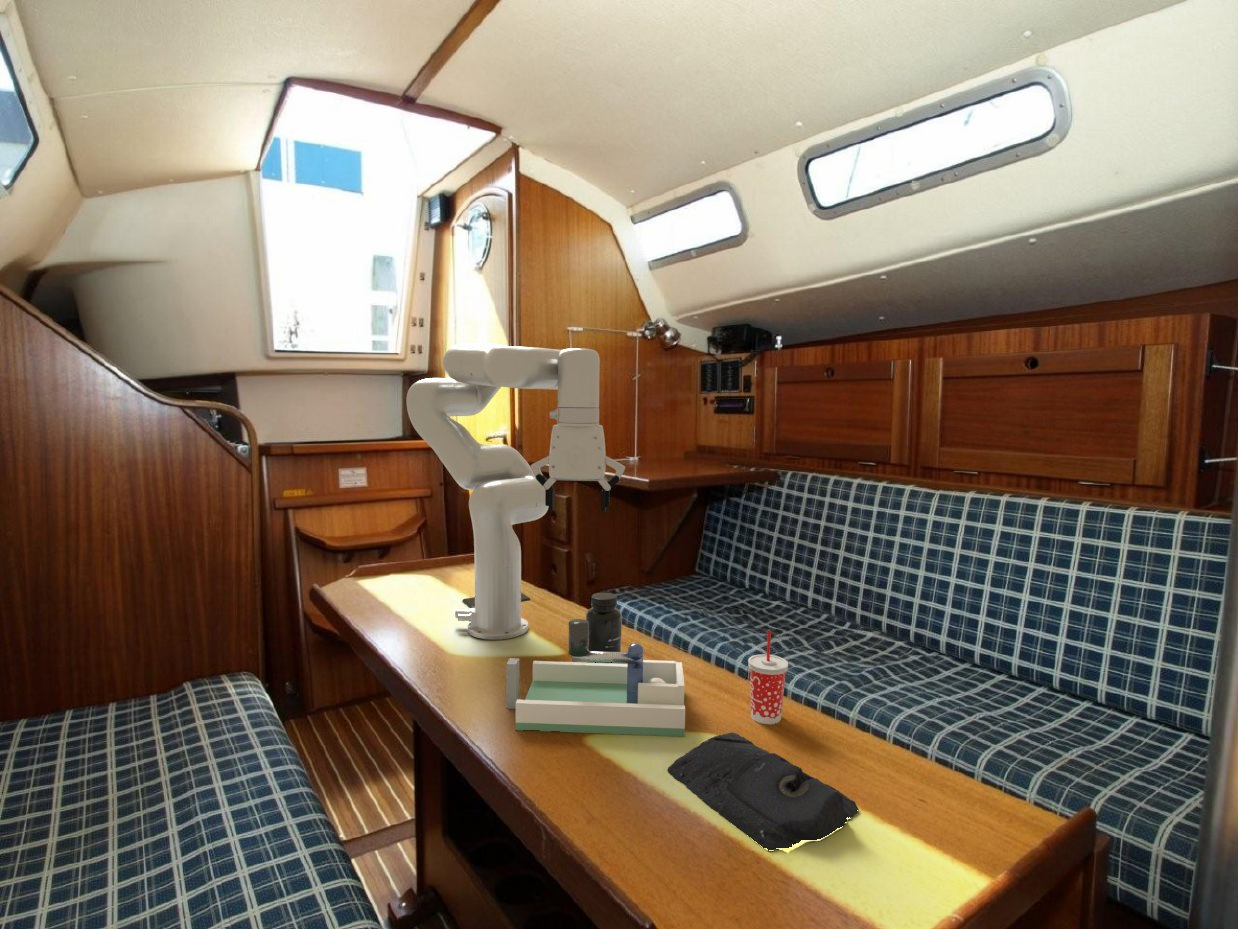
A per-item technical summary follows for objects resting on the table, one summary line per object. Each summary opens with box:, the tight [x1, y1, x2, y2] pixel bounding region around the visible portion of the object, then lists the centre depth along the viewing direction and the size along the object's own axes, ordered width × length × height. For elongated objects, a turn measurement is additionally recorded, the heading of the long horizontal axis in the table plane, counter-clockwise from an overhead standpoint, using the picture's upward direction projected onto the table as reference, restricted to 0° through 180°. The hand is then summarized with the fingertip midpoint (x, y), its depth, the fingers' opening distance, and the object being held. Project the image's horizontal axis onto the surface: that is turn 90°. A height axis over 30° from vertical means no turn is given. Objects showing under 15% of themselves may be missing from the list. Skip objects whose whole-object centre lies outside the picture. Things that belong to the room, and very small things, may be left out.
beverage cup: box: [747, 629, 789, 725], centre depth 106 cm, size 6×6×14 cm
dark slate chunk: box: [667, 732, 860, 851], centre depth 87 cm, size 15×22×5 cm
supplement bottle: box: [585, 592, 623, 663], centre depth 129 cm, size 7×7×12 cm
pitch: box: [505, 657, 686, 737], centre depth 108 cm, size 28×16×7 cm, turn 87°
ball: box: [646, 678, 667, 684], centre depth 108 cm, size 4×4×4 cm
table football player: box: [568, 618, 645, 704], centre depth 108 cm, size 12×6×12 cm, turn 87°
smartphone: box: [462, 592, 531, 609], centre depth 164 cm, size 7×1×15 cm
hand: (577, 510), depth 126 cm, fingers open, 9 cm apart
